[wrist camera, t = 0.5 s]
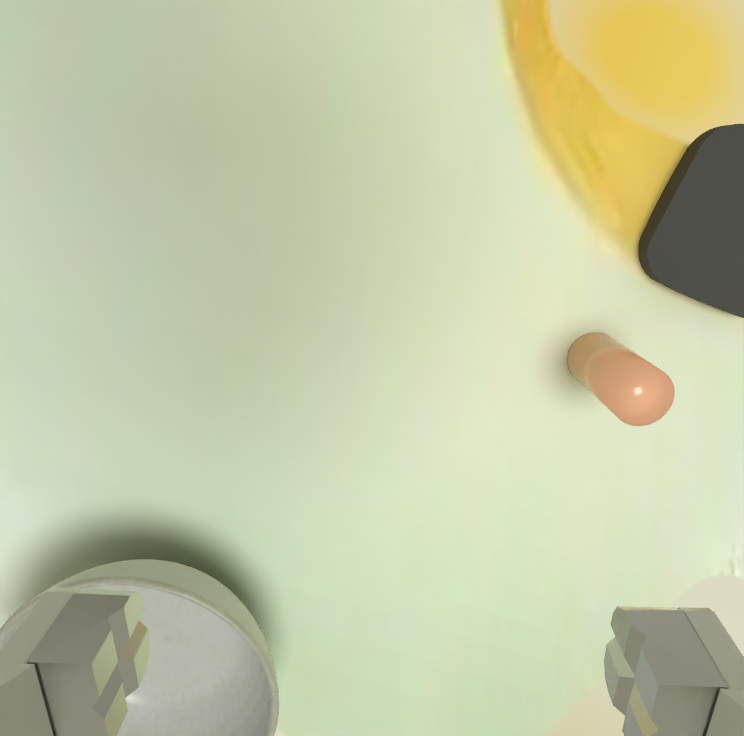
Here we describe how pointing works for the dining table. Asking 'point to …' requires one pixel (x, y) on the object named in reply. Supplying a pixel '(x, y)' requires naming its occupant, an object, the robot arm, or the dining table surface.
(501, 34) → the dining table surface
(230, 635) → the decorative bowl
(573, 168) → the dining table surface
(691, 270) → the media streaming box
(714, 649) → the robot arm
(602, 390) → the salmon orange cylinder
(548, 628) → the dining table surface
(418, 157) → the dining table surface
